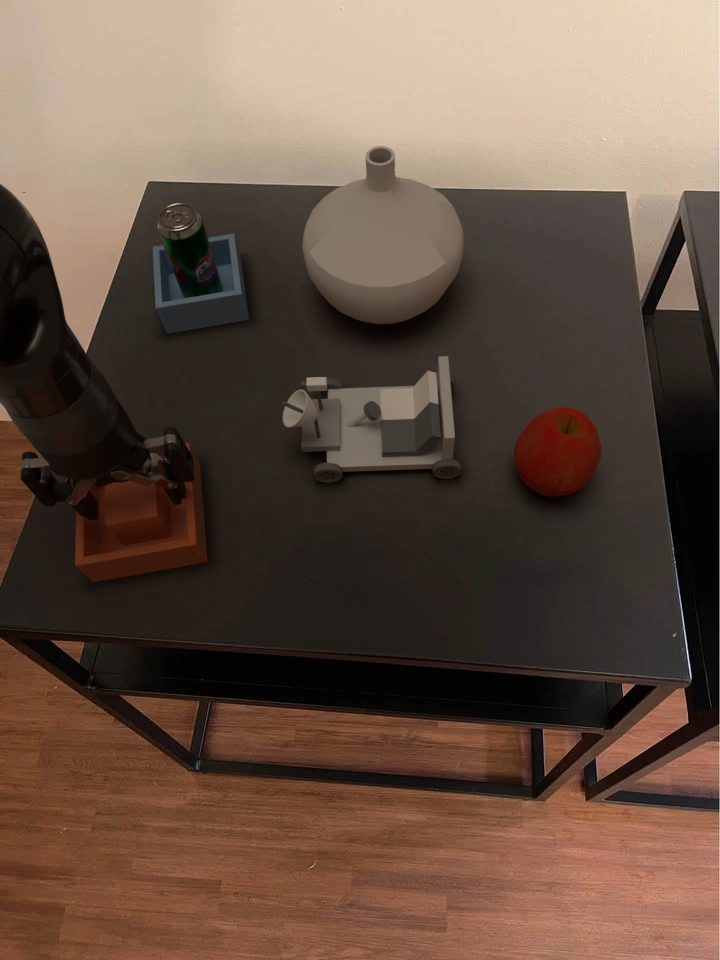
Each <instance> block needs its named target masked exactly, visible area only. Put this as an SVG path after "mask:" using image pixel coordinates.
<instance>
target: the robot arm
mask: <svg viewBox="0 0 720 960" xmlns="http://www.w3.org/2000/svg"><path fill="white" fill-rule="evenodd" d="M67 322H68V321H67V318H66V315H65V309H64V303H63V299H62V295H61V292H60V287H59V284H58V281H57V275H56V272H55V269H54V266H53V262H52V258H51V255H50V251H49V248H48V245H47V243H46V241H45V238H44V236H43V234H42V231H41V229H40V227H39V225H38V224H37V221H36V220H35V219H34V216H33V215H32V214H31V212H30V211H29V209H27V207H26V205H24V204H23V202H22V201H21V200H20V199H19V198H18V197H17V195H15V194H14V193H13V192H12V191H11V190H10V189H8V188H7V187H6V186H4V185H3V184H2V183H0V404H1V405H2V407H3V408H4V409H5V411H6V413H7V414H8V416H9V417H10V419H11V421H12V423H13V424H14V426H15V427H16V428H17V429H18V431H19V432H20V433H21V434H22V435H23V436H24V437H25V439H26V440H28V442H29V443H30V445H32V447H34V449H35V450H36V451H37V452H38V454H40V456H41V457H39V455H38V454H37V453H36V452H34V451H24V452H22V454H21V462H20V480H21V482H22V483H23V484H24V485H25V486H26V487H27V488H28V490H29V491H30V492H31V493H32V495H34V497H35V498H36V499H37V500H38V501H39V502H40V503H41V504H42V505H43V506H44V507H48V508H49V507H51V508H52V507H55V506H57V503H64V505H65V506H67V507H71V508H73V509H74V510H75V512H76V511H77V512H78V513H79V515H81V516H83V517H85V516H86V517H87V518H88V519H89V520H95V519H98V502H97V499H96V498H95V497H94V496H93V495H92V493H91V492H90V491H89V489H90V488H91V486H93V485H97V486H98V487H99V486H104V485H108V484H111V483H116V482H127V481H132V482H135V483H138V484H141V485H144V486H147V487H149V486H151V485H152V484H155V485H158V486H161V487H164V490H165V491H166V493H167V495H168V496H169V498H170V499H171V501H172V503H173V504H174V505H179V504H182V499H185V498H186V488H185V482H192V481H193V480H194V467H193V456H192V454H191V453H190V451H189V449H188V448H187V446H186V444H185V440H184V439H183V438H182V436H181V434H180V433H179V431H178V429H177V428H176V427H174V426H165V427H164V428H163V429H162V436H157V437H151V438H147V437H146V436H144V435H143V434H140V433H139V432H137V430H136V428H135V426H134V424H133V422H132V420H131V419H130V417H129V415H128V413H127V412H126V410H125V408H124V407H123V405H122V403H121V402H120V400H119V399H118V396H117V395H116V394H115V392H114V390H113V389H112V388H111V385H110V383H109V382H108V381H107V379H106V377H105V376H104V374H103V373H102V371H101V370H100V369H99V368H98V367H97V365H96V364H95V363H94V362H93V361H92V360H91V359H90V357H89V356H88V354H87V353H86V351H85V349H84V348H83V345H81V342H80V341H79V339H78V338H77V337H76V335H75V333H74V332H73V330H72V328H71V327H70V326H69V323H67ZM143 465H144V472H141V471H140V470H141V468H142V467H143ZM158 468H160V469H162V470H163V475H162V474H160V473H159V471H158ZM52 472H53V473H54V474H56V475H58V476H60V477H64V478H65V480H64V481H63V482H59V481H58V480H57V479H56V477H55V476H54V474H53V473H52Z"/></svg>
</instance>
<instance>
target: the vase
mask: <svg viewBox="0 0 720 960" xmlns="http://www.w3.org/2000/svg"><path fill="white" fill-rule="evenodd" d="M365 171H366V173H365V174H366V175H365V178H362V179H357V180H354V181H351V182H349V183H346V184H344V185H341V186H339V187H337V188H334V190H333V191H331V192H329V193H328V194H327V195H325V196H324V197H322V198H321V200H320V201H319V202H318V203H317V204H316V205H315V207H314V208H312V211H311V213H310V215H309V217H308V219H307V221H306V223H305V228H304V230H303V233H302V236H303V237H302V246H301V249H302V255H303V260H304V264H305V268H306V271H307V275H308V277H309V279H310V280H311V282H312V283H313V285H314V287H316V289H317V290H318V291H319V293H320V294H321V295H322V296H323V297H324V299H325V300H326V301H327V303H328V304H330V305H331V306H332V307H333V308H335V309H336V310H337V311H338V312H340V313H341V314H343V315H346V316H347V317H350V318H353V319H355V320H357V321H359V322H363V323H369V324H373V325H392V324H397V323H402V322H405V321H407V320H410V319H412V318H414V317H416V316H419V315H421V314H423V313H425V312H426V311H427V310H429V309H430V308H432V307H433V306H434V305H436V304H437V303H438V302H439V301H440V300H441V297H442V296H443V295H444V294H445V293H446V291H447V289H448V288H449V287H450V285H451V284H452V282H453V281H454V279H455V278H456V276H457V275H458V273H459V270H460V267H461V264H462V261H463V255H464V246H465V241H464V240H465V239H464V229H463V226H462V223H461V221H460V219H459V216H458V214H457V211H456V209H455V206H454V205H453V204H452V203H451V202H450V201H449V200H448V199H447V197H445V196H444V194H442V193H441V192H439V191H438V190H436V189H435V188H433V187H431V186H430V185H429V184H425V183H423V182H419V181H417V180H414V179H412V178H405V177H398V176H396V154H395V150H394V149H392V148H390V147H388V146H386V145H385V146H384V145H377V146H373V147H371V148H369V149H368V150H367V151H366V153H365Z"/></svg>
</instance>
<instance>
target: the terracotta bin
mask: <svg viewBox="0 0 720 960" xmlns="http://www.w3.org/2000/svg"><path fill="white" fill-rule="evenodd" d="M184 443H185V442H184ZM185 444H186V446H187V448H188V449H189V451H190V453H191V454H192V456H193V467H194V480H193V481H192V482H185V488H186V498H185V499H182V504H179V505H174V504H173V503H172V501H171V499H170V515H171V533H172V537H167V538H162V539H156V540H151V541H145V542H140V543H134V544H129V545H122V543H121V542H120V541H119V540H118V539H117V538H116V536H115V535H114V534H113V533H112V532H111V531H110V530H109V528H108V527H107V526H106V508H105V485H104V486H99V487H98V486H97V485H93V486H91V488H90V489H89V491H90V492H91V493H92V495H93V496H94V497H95V498H96V499H97V502H98V519H95V520H89V519H88V518H87V517H86V516H85V517H83V516H81V515H79V513H78V512H77V511H76V510H75V552H74V557H75V559H74V566H75V567H76V569H78V570H79V571H80V572H81V573H82V574H83V575H84V576H86V578H87V579H89V580H90V581H91V582H92V583H98V582H104V581H110V580H115V579H121V578H127V577H133V576H138V575H143V574H149V573H155V572H159V571H165V570H171V569H177V568H182V567H188V566H194V565H199V564H204V563H208V550H207V548H208V547H207V535H206V523H205V511H204V510H205V509H204V496H203V483H202V482H203V481H202V471H201V463H200V462H199V459H198V458H197V455H196V453H195V451H194V450H193V449H194V448H193V447H192V445H191V443H189V442H186V443H185ZM140 471H141V472H144V465H143V467H142V468H141V470H140ZM158 471H159V473H160V474H162V475H163V470H162V469H160V468H158Z"/></svg>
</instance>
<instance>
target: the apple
mask: <svg viewBox="0 0 720 960" xmlns="http://www.w3.org/2000/svg"><path fill="white" fill-rule="evenodd" d="M513 452H514V453H513V456H514V457H513V458H514V461H515V467H516V471H517V473H518V476H519V478H520V479H521V481H522V483H524V484H525V485H526V486H527V487H529V489H530V490H532V491H534V492H536V493H538V495H539V494H540V495H541V496H544V497H550V498H552V497H553V498H554V497H561V496H567V495H572V494H574V493H576V492H577V491H579V490H581V489H583V488H584V486H585V485H586V483H587V482H588V481H589V479H590V478H591V477H592V476H593V474H594V473H595V471H596V470H597V467H598V465H599V463H600V461H601V457H602V444H601V439H600V436H599V432H598V429H597V427H596V426H595V423H594V422H593V421H592V420H591V418H589V416H587V414H586V413H585V412H583V411H581V410H580V409H577V408H572V407H568V406H565V407H564V406H563V407H552V408H550V409H546V410H545V411H543V412H541V413H539V414H538V415H537V416H536V417H535V418H533V419H532V420H531V421H530V422H529V423H528V424H527V425H526V426H525V427H524V429H523V430H522V432H521V433H520V435H518V437H517V439H516V442H515V445H514V451H513Z"/></svg>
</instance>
